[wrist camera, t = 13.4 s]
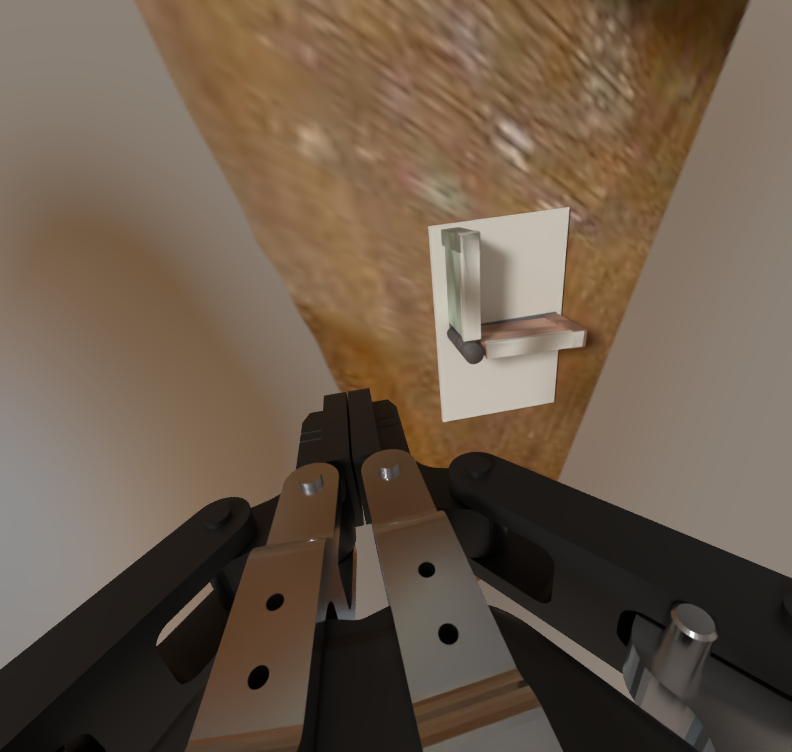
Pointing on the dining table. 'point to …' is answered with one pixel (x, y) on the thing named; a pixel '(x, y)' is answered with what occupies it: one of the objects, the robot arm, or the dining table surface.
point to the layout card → (503, 311)
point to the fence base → (463, 290)
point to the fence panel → (531, 336)
